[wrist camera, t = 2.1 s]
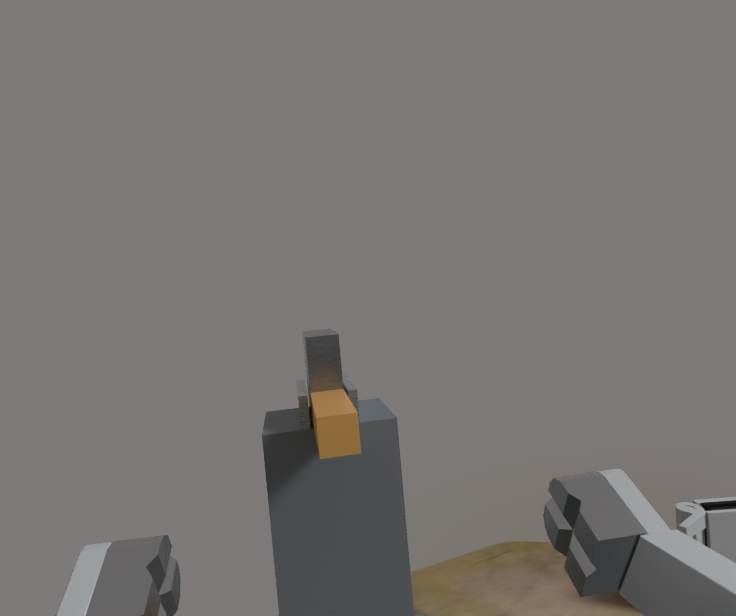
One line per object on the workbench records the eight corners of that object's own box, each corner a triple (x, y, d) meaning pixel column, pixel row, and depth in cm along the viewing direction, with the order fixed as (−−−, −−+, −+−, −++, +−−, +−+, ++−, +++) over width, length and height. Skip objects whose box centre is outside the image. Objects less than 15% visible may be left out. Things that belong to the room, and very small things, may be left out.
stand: (255, 732, 44) (223, 405, 43) (260, 659, 53) (234, 386, 52) (452, 689, 47) (426, 381, 46) (425, 626, 56) (403, 367, 55)
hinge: (690, 621, 53) (683, 528, 53) (652, 592, 58) (645, 507, 58) (797, 594, 56) (791, 505, 55) (751, 569, 61) (745, 487, 61)
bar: (320, 459, 36) (309, 348, 36) (309, 406, 53) (302, 331, 53) (361, 453, 36) (351, 343, 36) (337, 403, 54) (330, 328, 53)
